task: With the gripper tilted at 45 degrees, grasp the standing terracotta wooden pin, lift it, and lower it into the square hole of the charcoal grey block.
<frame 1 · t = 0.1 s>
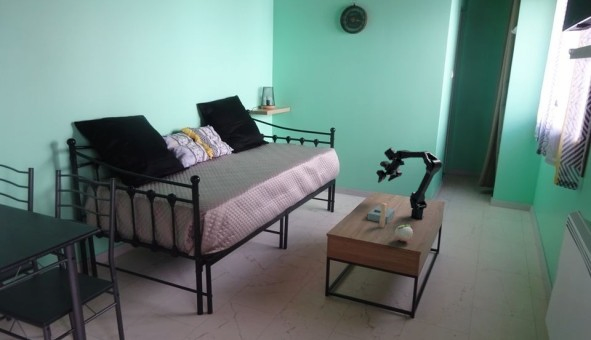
hand: (383, 181, 271), 15 cm above the table, tool tilted 35°, fingers open, 9 cm apart
decorative fruit: (403, 242, 212), on the table
pin: (381, 226, 232), on the table
hole block: (381, 217, 247), on the table
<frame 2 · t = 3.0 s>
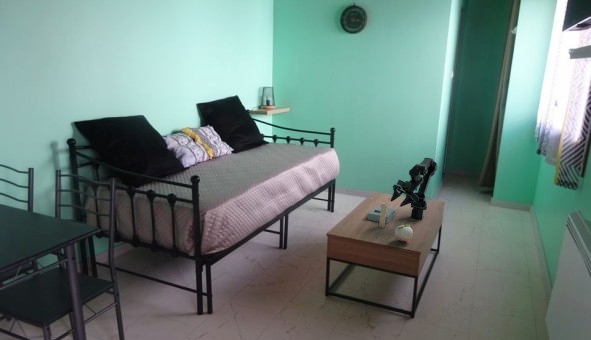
hand: (395, 203, 231), 13 cm above the table, tool tilted 45°, fingers open, 9 cm apart
nothing on the table moved.
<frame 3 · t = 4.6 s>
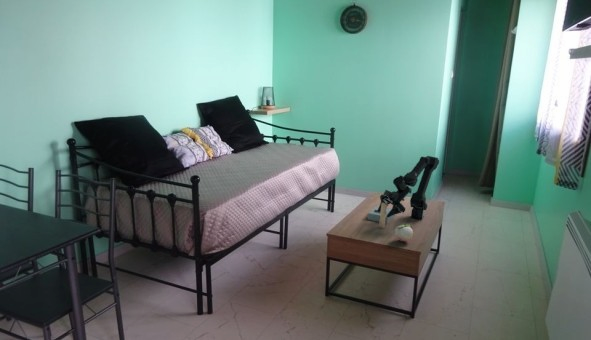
hand: (382, 214, 230), 8 cm above the table, tool tilted 45°, fingers open, 9 cm apart
nothing on the table moved.
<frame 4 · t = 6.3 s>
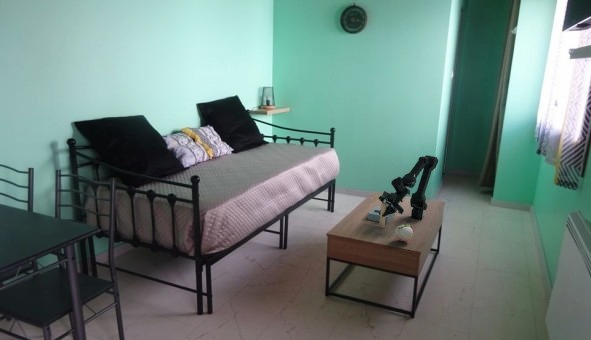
hand: (380, 215, 230), 7 cm above the table, tool tilted 45°, fingers closed on pin, 3 cm apart
pin: (381, 226, 232), on the table, touching gripper
everything else where it was.
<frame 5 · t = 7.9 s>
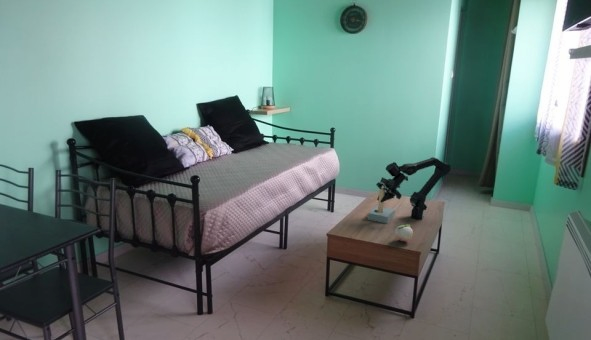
hand: (379, 201, 237), 13 cm above the table, tool tilted 45°, fingers closed on pin, 3 cm apart
pin: (380, 212, 239), point 6 cm above the table, touching gripper
everything else where it was.
when the fingers open (9 cm above the table, at t = 9.9 s): pin drops 2 cm, resting in hole block.
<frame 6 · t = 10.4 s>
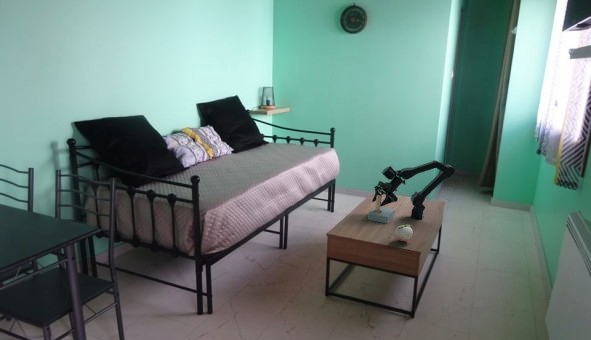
hand: (376, 203, 243), 9 cm above the table, tool tilted 45°, fingers open, 8 cm apart
pin: (377, 217, 246), resting in hole block
everything else where it was.
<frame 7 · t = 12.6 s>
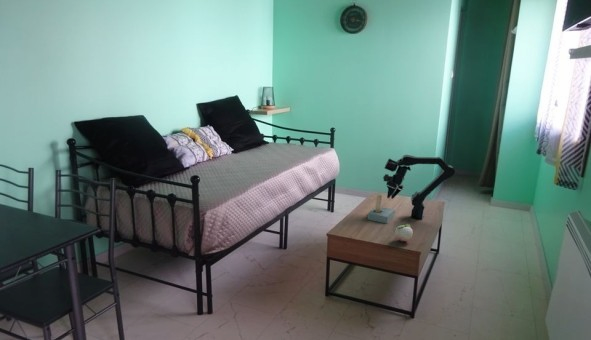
hand: (389, 198, 246), 12 cm above the table, tool tilted 20°, fingers open, 9 cm apart
nothing on the table moved.
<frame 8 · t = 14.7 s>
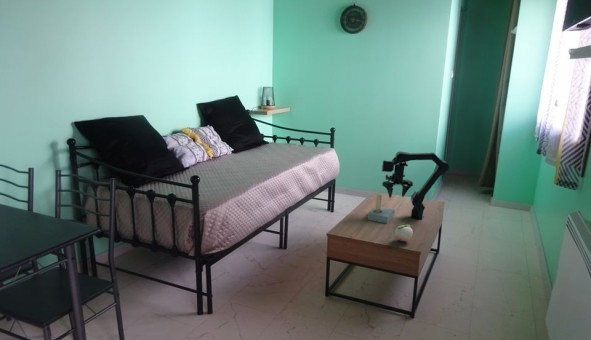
hand: (396, 197, 248), 12 cm above the table, tool pointing down, fingers open, 9 cm apart
nothing on the table moved.
at the end: pin 0.0 cm from the target spot on the hole block, point 0.0 cm above the hole block's base; pin tilted 0°; the gripper is holding nothing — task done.
